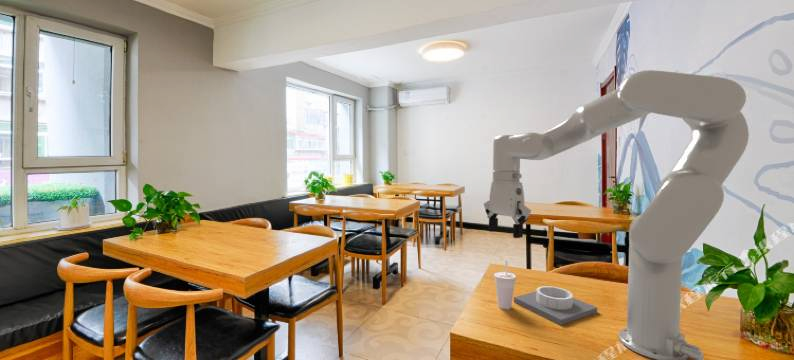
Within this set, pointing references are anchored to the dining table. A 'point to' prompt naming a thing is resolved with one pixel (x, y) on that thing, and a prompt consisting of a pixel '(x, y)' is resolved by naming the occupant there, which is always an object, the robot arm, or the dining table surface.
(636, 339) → the robot arm
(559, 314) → the duct collar
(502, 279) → the smoothie
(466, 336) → the dining table surface
